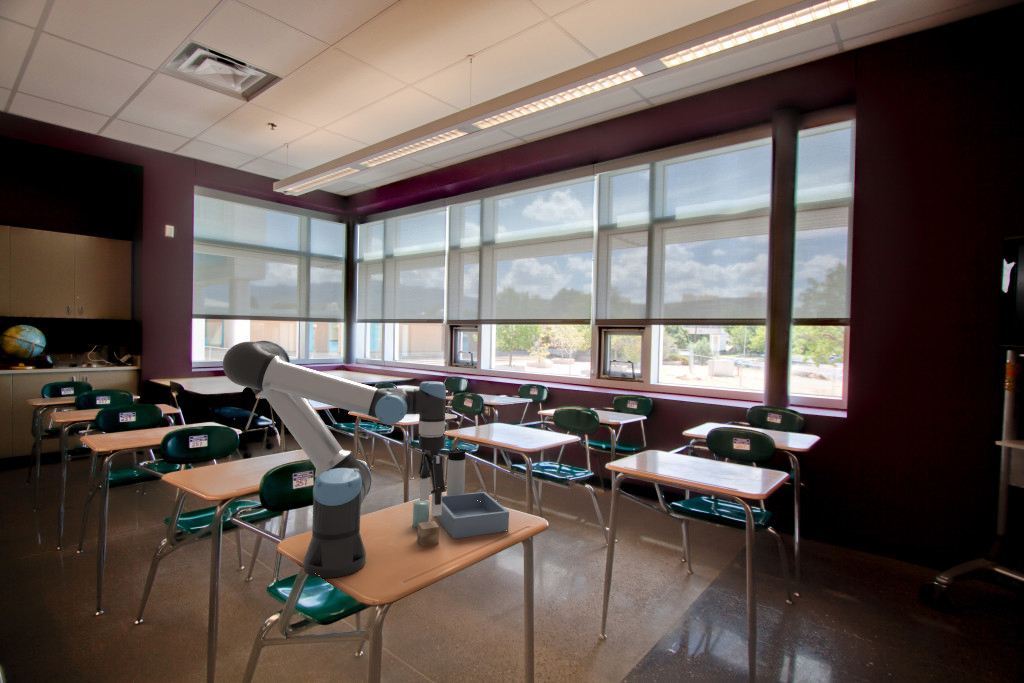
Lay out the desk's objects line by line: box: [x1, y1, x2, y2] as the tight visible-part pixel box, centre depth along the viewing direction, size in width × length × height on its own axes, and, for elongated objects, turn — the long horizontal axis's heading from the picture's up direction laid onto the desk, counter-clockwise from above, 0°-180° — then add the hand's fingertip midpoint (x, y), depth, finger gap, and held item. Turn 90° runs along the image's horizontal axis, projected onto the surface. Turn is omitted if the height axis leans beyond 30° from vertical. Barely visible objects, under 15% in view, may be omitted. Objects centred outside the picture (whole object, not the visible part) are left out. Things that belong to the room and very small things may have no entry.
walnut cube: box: [416, 520, 440, 547], centre depth 143 cm, size 5×5×5 cm
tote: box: [435, 491, 510, 539], centre depth 159 cm, size 18×21×6 cm
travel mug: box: [446, 448, 468, 496], centre depth 174 cm, size 6×7×20 cm
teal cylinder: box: [412, 500, 430, 529], centre depth 155 cm, size 5×5×7 cm
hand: (430, 507), depth 143 cm, fingers open, 13 cm apart
